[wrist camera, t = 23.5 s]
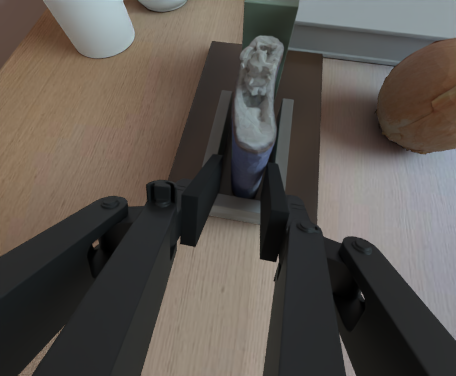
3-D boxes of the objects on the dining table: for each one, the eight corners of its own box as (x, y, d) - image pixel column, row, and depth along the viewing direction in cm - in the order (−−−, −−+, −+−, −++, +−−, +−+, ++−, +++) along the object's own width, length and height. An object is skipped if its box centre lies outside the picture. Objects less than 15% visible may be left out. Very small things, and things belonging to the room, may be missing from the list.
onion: (415, 146, 26) (564, 101, 17) (381, 179, 22) (557, 141, 13) (379, 77, 26) (512, -6, 17) (338, 96, 21) (488, -3, 12)
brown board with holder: (163, 210, 20) (92, 145, 10) (212, 49, 28) (202, -80, 18) (311, 237, 19) (408, 196, 9) (319, 62, 27) (374, -67, 17)
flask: (257, 204, 19) (284, 129, 9) (224, 199, 19) (217, 122, 9) (265, 121, 22) (292, 1, 13) (238, 118, 23) (243, -2, 13)
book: (512, 44, 23) (285, 19, 24) (473, 75, 26) (278, 51, 28) (474, -45, 29) (297, -59, 31) (447, -10, 33) (290, -25, 35)
